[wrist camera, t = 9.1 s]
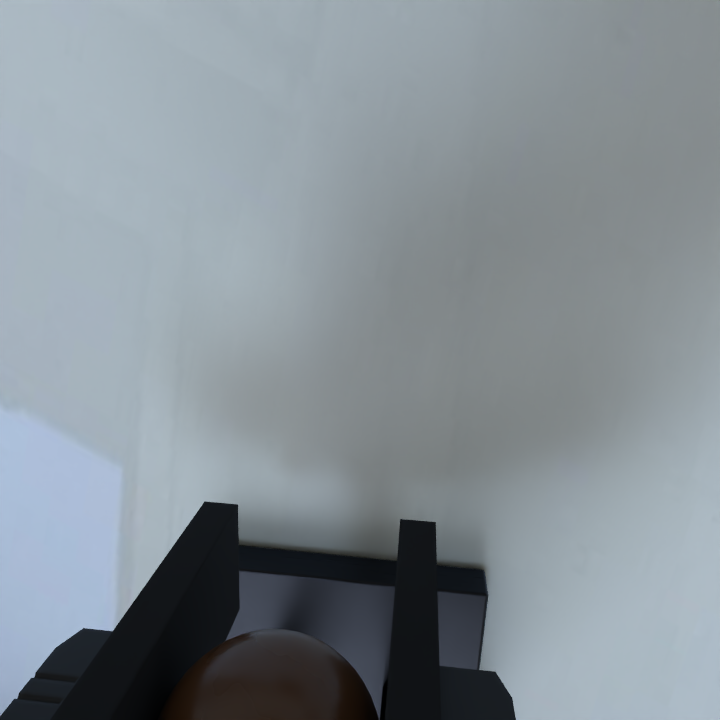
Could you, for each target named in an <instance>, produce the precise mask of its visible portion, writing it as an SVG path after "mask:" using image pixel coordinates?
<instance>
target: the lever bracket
mask: <svg viewBox="0 0 720 720" xmlns="http://www.w3.org/2000/svg"><path fill="white" fill-rule="evenodd" d="M396 570H397V561H390V560H380V559H370V558H361V557H351V556H341V555H331V554H321V553H311V552H301V551H291V550H281V549H271V548H261V547H251V546H241V545H239V593H240V609H239V612H238V614H237V616H236V618H235V621H234V623H233V625H232V627H231V630H230V632H229V634H228V637H227V639H226V640H229V639H231V638H234V637H236V636H239V635H241V634H244V633H248V632H252V631H256V630H263V629H286V630H292V631H297V632H301V633H304V634H307V635H310V636H313V637H315V638H317V639H319V640H321V641H323V642H324V643H326V644H327V645H329V646H330V647H332V648H333V649H335V650H336V651H337V652H338V653H339V654H341V655H342V656H343V657H344V658H345V659H346V660H347V661H348V662H349V663H350V664H351V665H352V667H353V668H354V669H355V670H356V671H357V673H358V674H359V676H360V677H361V679H362V680H363V682H364V683H365V685H366V687H367V689H368V691H369V693H370V695H371V697H372V700H373V703H374V706H375V708H376V711H377V714H378V718H379V720H385V710H386V697H387V684H388V672H389V659H390V646H391V633H392V621H393V608H394V595H395V583H396ZM437 590H438V626H439V662H440V666H447V667H456V668H465V669H474V670H479V669H480V661H481V652H482V644H483V635H484V627H485V618H486V610H487V601H488V591H487V584H486V577H485V572H484V570H480V569H470V568H460V567H450V566H440V565H437Z"/></svg>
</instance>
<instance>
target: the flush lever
mask: <svg viewBox="0 0 720 720" xmlns="http://www.w3.org/2000/svg"><path fill="white" fill-rule="evenodd" d="M158 720H379V718H378V714H377V711H376V708H375V706H374V703H373V700H372V697H371V695H370V693H369V691H368V689H367V687H366V685H365V683H364V682H363V680H362V679H361V677H360V676H359V674H358V673H357V671H356V670H355V669H354V668H353V667H352V665H351V664H350V663H349V662H348V661H347V660H346V659H345V658H344V657H343V656H342V655H341V654H339V653H338V652H337V651H336V650H335V649H333V648H332V647H330V646H329V645H327V644H326V643H324V642H323V641H321V640H319V639H317V638H315V637H313V636H310V635H307V634H304V633H301V632H297V631H292V630H286V629H263V630H256V631H252V632H248V633H244V634H241V635H239V636H236V637H234V638H231V639H229V640H226V641H225V642H223V643H221V644H219V645H218V646H216V647H214V648H213V649H212V650H210V651H209V652H208V653H206V654H205V655H204V656H202V657H201V658H200V659H199V660H197V661H196V662H195V663H194V664H193V665H192V666H191V667H190V668H189V669H188V670H187V672H186V673H185V674H184V675H183V677H182V678H181V679H180V681H179V682H178V683H177V684H176V686H175V687H174V688H173V690H172V692H171V693H170V695H169V697H168V698H167V700H166V702H165V704H164V706H163V708H162V711H161V713H160V715H159V718H158Z"/></svg>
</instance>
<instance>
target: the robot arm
mask: <svg viewBox="0 0 720 720" xmlns="http://www.w3.org/2000/svg"><path fill="white" fill-rule="evenodd" d="M239 609H240V593H239V538H238V505H236V504H225V503H214V502H204V503H203V505H202V506H201V508H200V509H199V511H198V512H197V513H196V515H195V516H194V518H193V519H192V520H191V522H190V523H189V525H188V526H187V527H186V529H185V530H184V532H183V533H182V535H181V536H180V537H179V539H178V540H177V542H176V543H175V544H174V546H173V547H172V549H171V550H170V551H169V553H168V554H167V556H166V557H165V558H164V560H163V561H162V563H161V564H160V566H159V567H158V568H157V570H156V571H155V573H154V574H153V575H152V577H151V578H150V580H149V581H148V582H147V584H146V585H145V587H144V588H143V590H142V591H141V592H140V594H139V595H138V597H137V598H136V599H135V601H134V602H133V604H132V605H131V606H130V608H129V609H128V611H127V612H126V613H125V615H124V616H123V618H122V619H121V621H120V622H119V623H118V625H117V626H116V628H115V629H114V630H113V632H112V631H103V630H94V629H85V628H83V629H82V630H80V631H79V632H78V633H76V634H75V635H73V636H72V637H71V638H69V639H68V640H66V641H65V642H63V643H62V644H61V645H59V646H58V647H56V648H55V649H54V651H53V652H52V653H51V654H50V656H49V657H48V658H47V659H46V660H45V662H44V663H43V664H42V665H41V667H40V668H39V669H38V670H37V672H36V674H35V677H34V678H31V679H30V680H29V682H28V683H27V684H26V685H25V686H24V688H23V689H22V690H21V691H20V693H19V696H18V698H17V699H14V700H13V701H12V703H11V704H10V705H9V706H8V708H7V709H6V710H5V711H4V712H3V714H2V715H1V716H0V720H158V718H159V715H160V713H161V711H162V708H163V706H164V704H165V702H166V700H167V698H168V697H169V695H170V693H171V692H172V690H173V688H174V687H175V686H176V684H177V683H178V682H179V681H180V679H181V678H182V677H183V675H184V674H185V673H186V672H187V670H188V669H189V668H190V667H191V666H192V665H193V664H194V663H195V662H196V661H197V660H199V659H200V658H201V657H202V656H204V655H205V654H206V653H208V652H209V651H210V650H212V649H213V648H214V647H216V646H218V645H219V644H221V643H223V642H225V641H226V639H227V637H228V634H229V632H230V630H231V627H232V625H233V623H234V621H235V618H236V616H237V614H238V612H239ZM385 720H516V718H515V712H514V706H513V701H512V697H511V696H510V694H509V692H508V691H507V689H506V688H505V686H504V685H503V683H502V682H501V680H500V678H499V677H498V675H497V674H496V672H492V671H483V670H474V669H465V668H456V667H447V666H440V662H439V626H438V590H437V555H436V522H427V521H416V520H404V519H400V532H399V544H398V557H397V570H396V583H395V595H394V608H393V621H392V633H391V646H390V659H389V672H388V684H387V697H386V710H385Z"/></svg>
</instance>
